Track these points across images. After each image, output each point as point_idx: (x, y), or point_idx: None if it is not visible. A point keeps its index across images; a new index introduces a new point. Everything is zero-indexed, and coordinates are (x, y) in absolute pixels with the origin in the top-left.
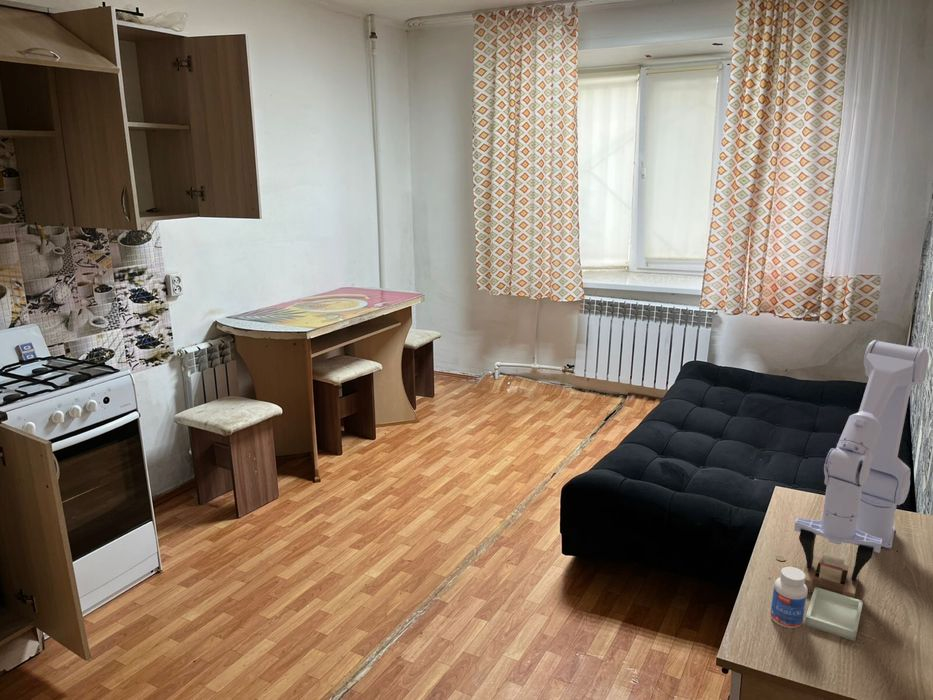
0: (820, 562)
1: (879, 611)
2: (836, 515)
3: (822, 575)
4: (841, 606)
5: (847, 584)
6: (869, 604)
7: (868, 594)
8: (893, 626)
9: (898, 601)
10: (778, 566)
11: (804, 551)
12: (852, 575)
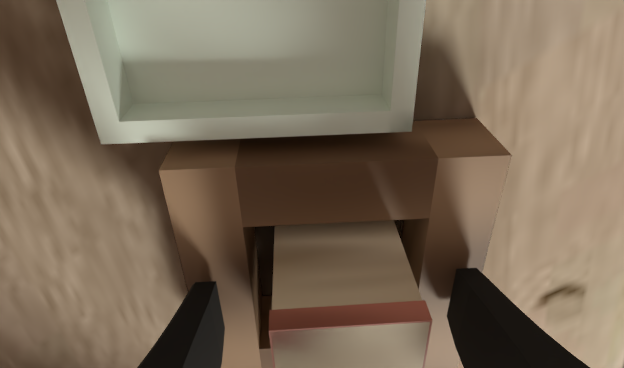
0: None
1: (40, 151)
2: None
3: (382, 244)
4: (220, 48)
5: (228, 241)
6: (108, 184)
7: (145, 258)
8: None
9: (13, 277)
10: (579, 248)
11: (586, 366)
12: (203, 308)
